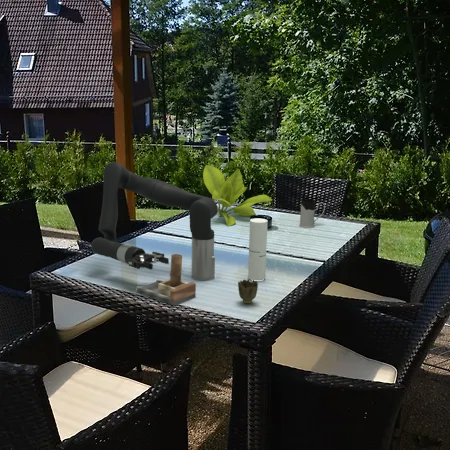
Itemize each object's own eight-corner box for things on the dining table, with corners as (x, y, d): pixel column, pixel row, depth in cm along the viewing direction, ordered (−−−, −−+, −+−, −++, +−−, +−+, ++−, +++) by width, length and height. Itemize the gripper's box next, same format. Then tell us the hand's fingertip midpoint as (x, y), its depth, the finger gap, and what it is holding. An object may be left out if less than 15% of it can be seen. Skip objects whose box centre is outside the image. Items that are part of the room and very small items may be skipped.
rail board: (136, 292, 217) (136, 279, 215) (158, 284, 225) (157, 271, 224) (174, 306, 205) (174, 291, 203) (195, 297, 213) (195, 283, 212)
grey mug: (297, 224, 324) (298, 198, 320) (321, 224, 326) (323, 198, 322) (301, 228, 316) (302, 202, 312) (325, 228, 317) (327, 202, 314)
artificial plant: (202, 237, 316) (226, 200, 298) (180, 184, 342) (200, 147, 324) (261, 241, 339) (287, 206, 322) (236, 191, 365) (259, 157, 347)
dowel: (179, 289, 214) (181, 254, 210) (180, 293, 210) (182, 257, 207) (169, 289, 213) (170, 254, 209) (170, 293, 209) (172, 257, 206)
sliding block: (158, 293, 212) (158, 283, 211) (173, 288, 218) (173, 278, 217) (173, 299, 207) (173, 288, 206) (188, 293, 213) (188, 283, 212)
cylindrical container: (247, 275, 238) (249, 218, 232) (264, 276, 238) (267, 218, 232) (248, 281, 231) (250, 222, 225) (265, 281, 231) (268, 222, 225)
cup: (234, 305, 207) (235, 284, 205) (241, 298, 214) (241, 278, 212) (253, 308, 204) (254, 287, 202) (260, 301, 211) (260, 281, 209)
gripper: (117, 250, 217) (146, 259, 207) (144, 242, 228) (173, 250, 218) (117, 268, 219) (146, 278, 209) (144, 260, 230) (173, 268, 220)
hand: (160, 264), depth 214 cm, fingers open, 8 cm apart
